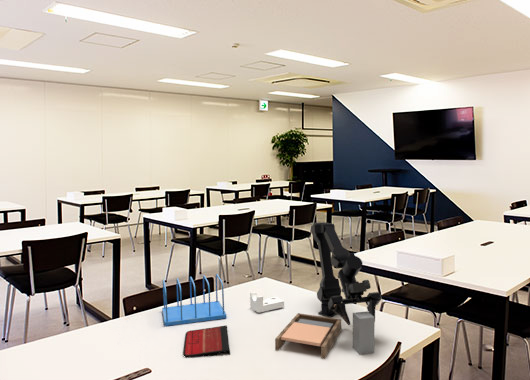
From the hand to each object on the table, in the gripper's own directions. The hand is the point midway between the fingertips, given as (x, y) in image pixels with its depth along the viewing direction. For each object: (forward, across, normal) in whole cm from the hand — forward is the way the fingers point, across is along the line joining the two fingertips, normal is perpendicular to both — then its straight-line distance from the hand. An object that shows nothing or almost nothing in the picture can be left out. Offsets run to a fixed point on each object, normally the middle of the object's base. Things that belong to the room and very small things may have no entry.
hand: (361, 323), depth 149 cm
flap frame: (-2, -15, +14) cm, 21 cm away
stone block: (+7, 0, +6) cm, 9 cm away
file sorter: (-26, -56, +38) cm, 72 cm away
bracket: (-25, -24, +38) cm, 51 cm away
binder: (-6, -52, +19) cm, 56 cm away
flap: (-1, -16, +13) cm, 21 cm away
